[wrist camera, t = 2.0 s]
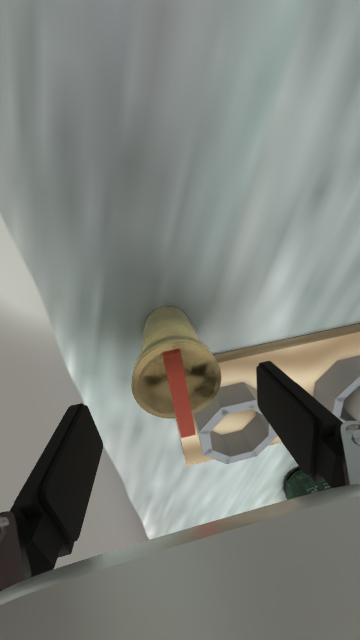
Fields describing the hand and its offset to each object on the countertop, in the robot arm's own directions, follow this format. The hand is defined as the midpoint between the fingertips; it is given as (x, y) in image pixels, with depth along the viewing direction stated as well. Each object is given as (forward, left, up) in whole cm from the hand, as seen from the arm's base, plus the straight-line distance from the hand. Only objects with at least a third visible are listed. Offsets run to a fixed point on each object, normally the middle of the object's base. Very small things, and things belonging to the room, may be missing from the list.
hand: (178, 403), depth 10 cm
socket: (+10, +5, -7) cm, 13 cm away
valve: (-1, 0, -9) cm, 9 cm away
